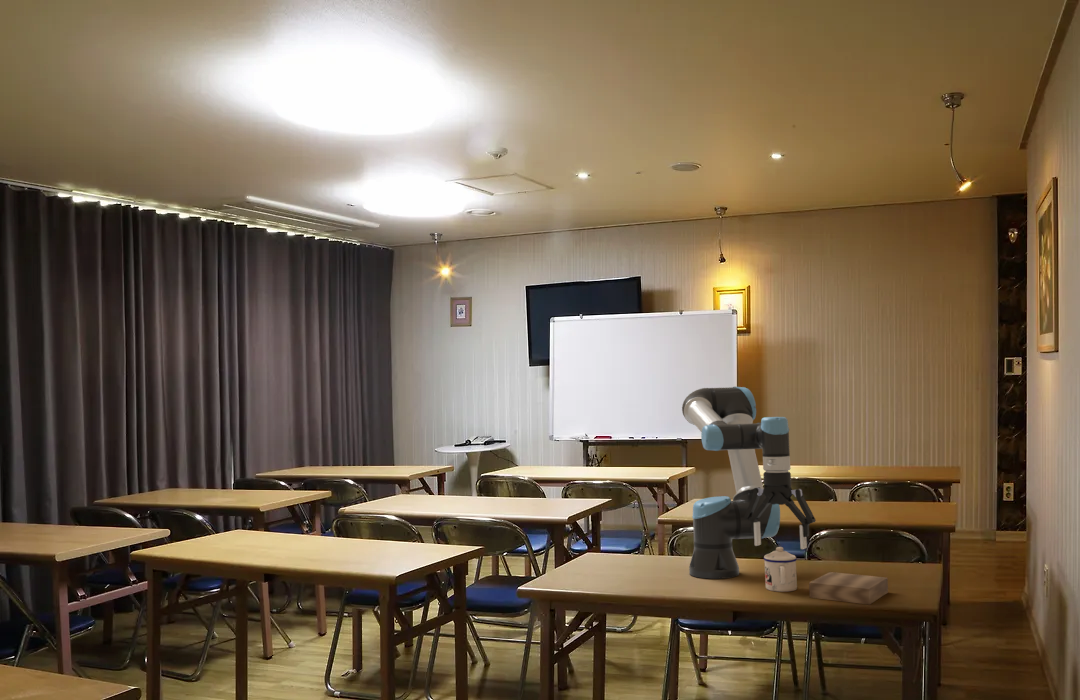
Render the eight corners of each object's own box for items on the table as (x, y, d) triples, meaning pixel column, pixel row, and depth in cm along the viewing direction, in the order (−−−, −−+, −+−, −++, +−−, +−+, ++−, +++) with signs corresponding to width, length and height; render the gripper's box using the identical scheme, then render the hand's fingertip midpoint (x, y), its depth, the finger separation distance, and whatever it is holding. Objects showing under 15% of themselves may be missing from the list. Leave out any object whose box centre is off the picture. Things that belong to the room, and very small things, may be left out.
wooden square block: (809, 597, 244) (809, 582, 244) (830, 586, 257) (829, 571, 257) (869, 604, 234) (868, 589, 234) (888, 592, 247) (887, 577, 247)
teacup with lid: (763, 585, 261) (761, 544, 261) (795, 585, 259) (794, 544, 260) (767, 594, 249) (765, 552, 249) (801, 594, 247) (799, 552, 248)
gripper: (730, 471, 260) (733, 545, 259) (814, 473, 245) (818, 552, 244) (741, 469, 266) (745, 541, 265) (824, 471, 251) (828, 547, 249)
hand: (780, 546), depth 254 cm, fingers open, 13 cm apart
